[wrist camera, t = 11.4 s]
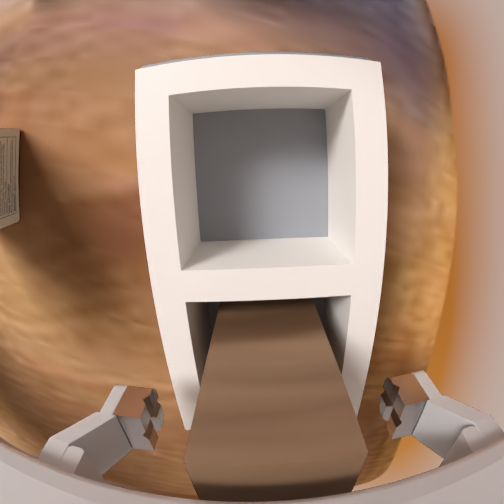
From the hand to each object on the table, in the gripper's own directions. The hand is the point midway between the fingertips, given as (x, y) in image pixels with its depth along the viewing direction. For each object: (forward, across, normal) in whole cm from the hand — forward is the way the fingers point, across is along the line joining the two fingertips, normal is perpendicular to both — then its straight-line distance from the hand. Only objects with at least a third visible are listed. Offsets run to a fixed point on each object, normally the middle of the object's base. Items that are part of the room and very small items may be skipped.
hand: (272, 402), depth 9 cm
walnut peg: (+6, 0, 0) cm, 6 cm away
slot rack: (+7, 0, -4) cm, 8 cm away
